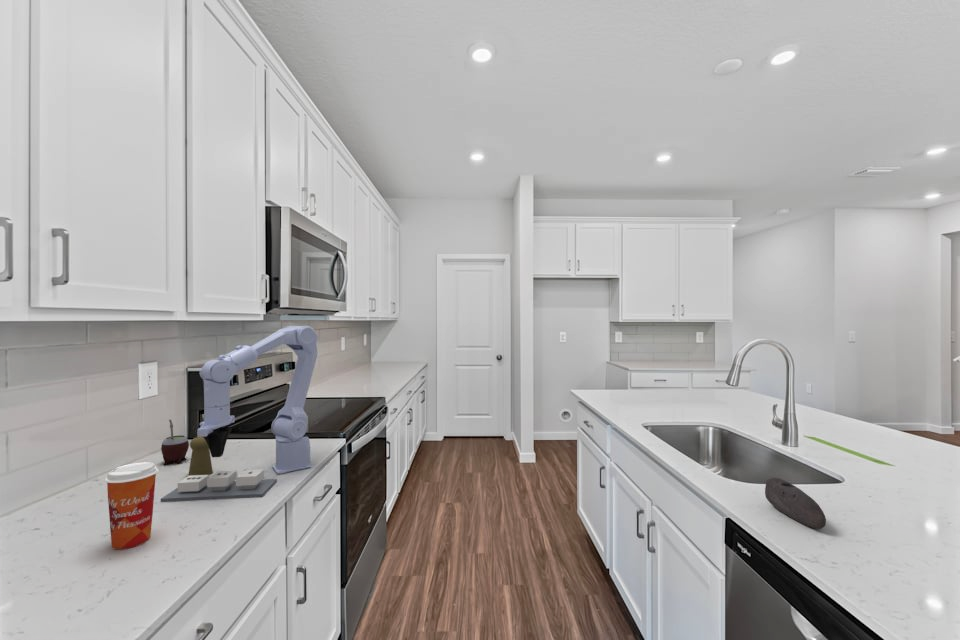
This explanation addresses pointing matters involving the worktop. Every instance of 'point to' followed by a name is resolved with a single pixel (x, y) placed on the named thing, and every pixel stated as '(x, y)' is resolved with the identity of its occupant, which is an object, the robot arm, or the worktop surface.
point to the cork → (200, 457)
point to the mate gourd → (174, 448)
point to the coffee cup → (131, 503)
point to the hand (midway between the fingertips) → (217, 456)
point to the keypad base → (222, 492)
